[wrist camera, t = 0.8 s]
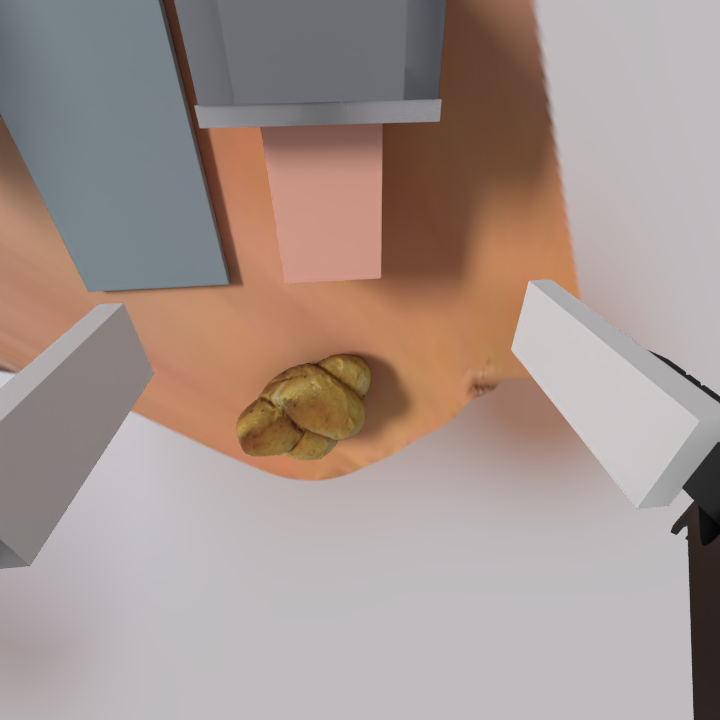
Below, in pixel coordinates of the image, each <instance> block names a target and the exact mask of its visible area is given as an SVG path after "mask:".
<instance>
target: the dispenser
mask: <svg viewBox="0 0 720 720" xmlns="http://www.w3.org/2000/svg"><path fill="white" fill-rule="evenodd" d="M174 2H175V7H176V11H177V15H178V20H179V24H180V28H181V33H182V37H183V42H184V46H185V50H186V55H187V59H188V63H189V68H190V72H191V76H192V81H193V85H194V90H195V94H196V98H197V103H198V105H194V107H195V111H196V115H197V120H198V124H199V128H232V127H267V126H303V125H338V124H373V123H408V122H440V114H441V103H442V99H438V95H439V83H440V71H441V59H442V47H443V36H444V24H445V12H446V0H174Z"/></svg>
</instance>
